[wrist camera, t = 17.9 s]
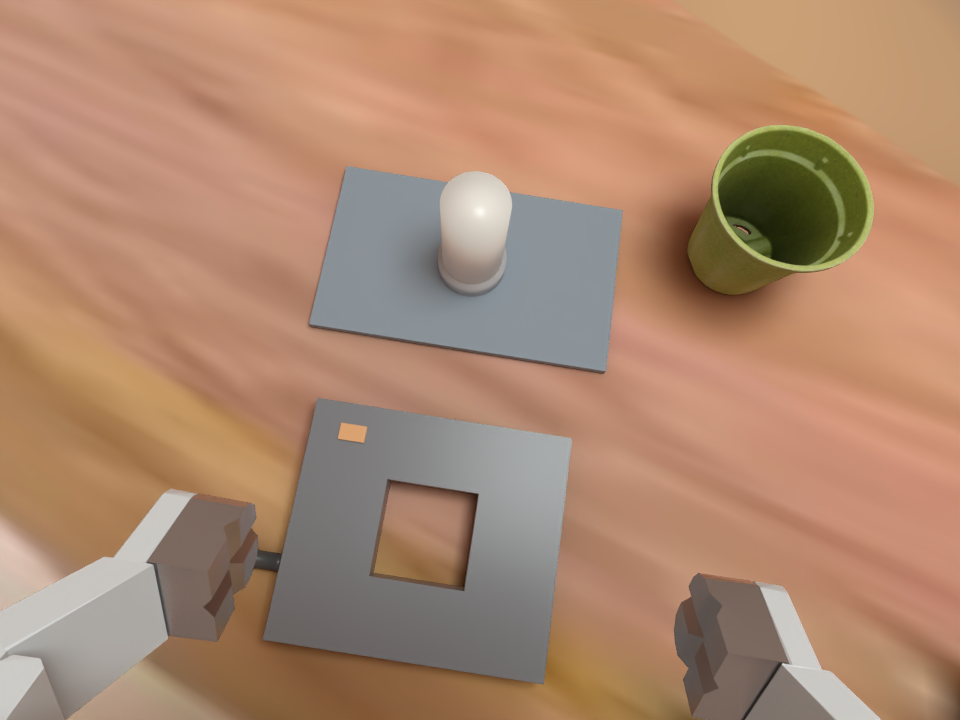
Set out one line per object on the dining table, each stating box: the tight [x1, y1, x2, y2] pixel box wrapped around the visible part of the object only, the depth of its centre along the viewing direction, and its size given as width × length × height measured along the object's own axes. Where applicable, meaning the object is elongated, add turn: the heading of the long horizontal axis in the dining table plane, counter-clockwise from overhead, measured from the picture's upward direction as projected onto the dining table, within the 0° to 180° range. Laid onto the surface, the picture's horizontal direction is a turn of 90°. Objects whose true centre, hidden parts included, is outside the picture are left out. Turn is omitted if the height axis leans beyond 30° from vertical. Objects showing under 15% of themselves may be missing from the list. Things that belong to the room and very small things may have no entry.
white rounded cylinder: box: [438, 171, 512, 297], centre depth 37 cm, size 5×5×8 cm
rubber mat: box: [309, 166, 623, 373], centre depth 42 cm, size 20×12×1 cm, turn 81°
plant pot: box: [687, 125, 874, 295], centre depth 39 cm, size 9×9×9 cm
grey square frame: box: [254, 398, 572, 684], centre depth 36 cm, size 21×14×2 cm, turn 81°
